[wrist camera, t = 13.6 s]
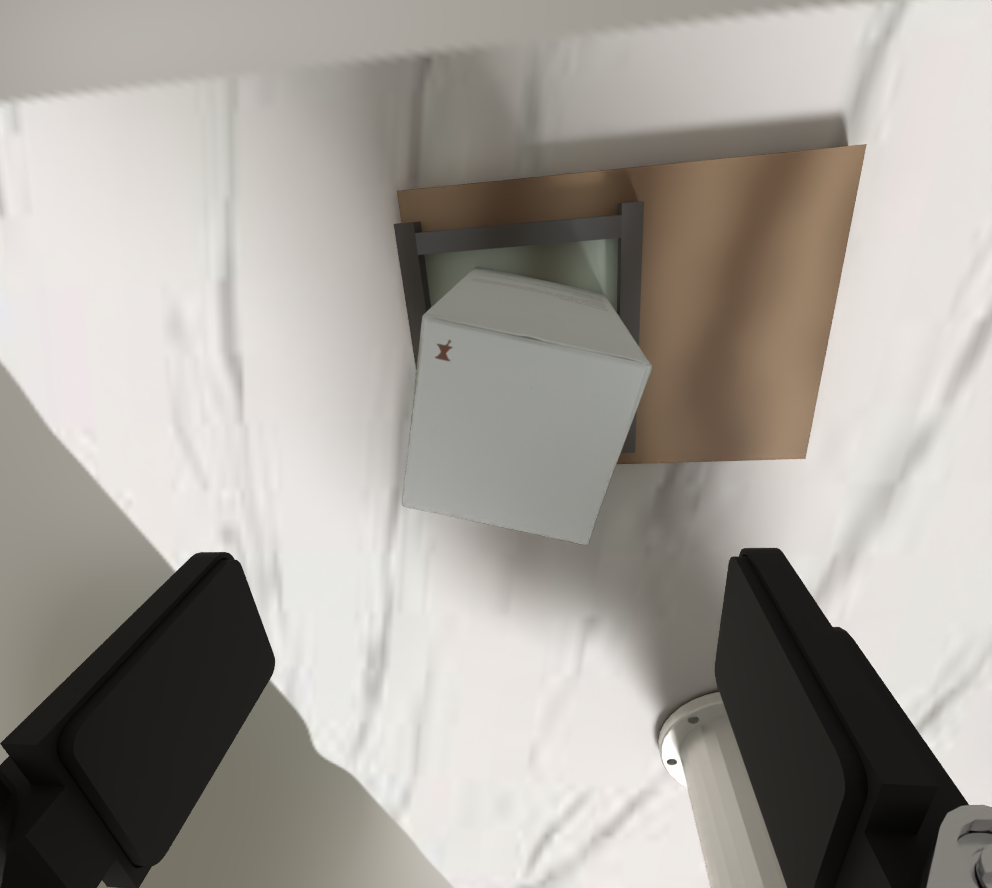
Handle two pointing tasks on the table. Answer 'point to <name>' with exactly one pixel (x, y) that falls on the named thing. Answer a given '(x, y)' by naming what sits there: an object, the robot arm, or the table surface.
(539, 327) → the supplement box
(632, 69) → the table surface
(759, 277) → the board
